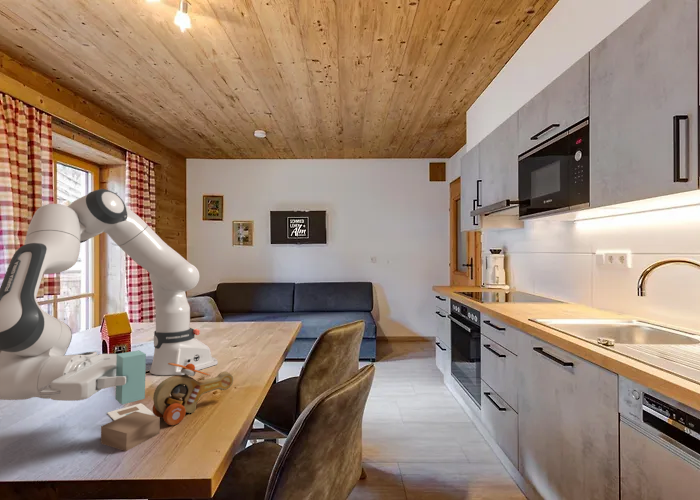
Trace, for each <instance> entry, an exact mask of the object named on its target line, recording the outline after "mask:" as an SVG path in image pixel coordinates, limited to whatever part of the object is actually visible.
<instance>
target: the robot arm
mask: <svg viewBox="0 0 700 500" xmlns="http://www.w3.org/2000/svg"><path fill="white" fill-rule="evenodd" d="M103 233H104V234H107V235H108V237H109V238H110V239H111V240H112V241H113V242H114V243H115V244H116V245H117V246H118V247H119V248H120V249H121V250H122V251H124V253H125V254H126V255H128V257H129V258H130V259H131V260H132V261H134V262H135V263H136V264H137V265H138V266H140V267H141V268H143V269H144V270H145V271H147V272H148V273H149V279H150V282H151V287H152V295H153V299H154V305H155V330H154V332H153V333H154V334H153V335H154V336H153V345H154V346H153V347H154V351H153V356H152V363H151V365H150V369H149V373H150V374H153V375H156V376H175V375H185V374H184V373H182V372H181V369H182V367H178V366H173V365H169V364H168V363H174V364H179V365H183V366H186V365H187V364H193V365H194V366H195V370H198V371H200V370H204V369H206V368H210V367H213V366H216V365H218V364H219V362H218V359H217V358H215V357H213V356H212V352H211V348H210V347H209V346H208V345H207V343H206V344H205V343H204V342H202V341H201V340H200V339H198V338H196V336H199V335H200V333H201V332H200V329H198V328H192V327H191V306H190V303H189V301H188V298H187V294H186V292H188V291H191V290H192V289H194V288H195V287H196V286H197V285H198V283H199V281H200V272H199V269H198V268H197V267H196V266H195V265H194V264H192V263H190V262H189V261H188V260H187V259H186V258H184V257H183V256H182V255H181V254H180V253H179V252H177V251H176V250H174V248H172V247H171V246H170V245H168V243H166V242H165V241H164V240H163V239H162V238H161V237H160V236H159V235H158V234H157V233H156V232H155V231H154V230H153V228H151V227H150V226H149V225H148V224H147V222H145V221H144V220H143V219H142V218H141V217H140V216H139V215H138V214H137V213H135V211H133V210H132V209H130V208H129V207H127V206H126V204H125V202H124V200H123V199H122V198H121V196H119V194H117V193H115V192H114V191H112V190H110V189H107V188H99V189H95V190H92V191H90V192H89V193H88V194H86V195H84V196H81V197H79V198H78V199H75V200H74V201H72V202H71V203H70V204H69V205H64V204H59V203H47V204H45V205H42V206H40V207H39V208H37V209H36V210H35V212H34V214H33V216H32V218H31V221H30V223H29V225H28V228H27V231H26V236H25V241H24V244H23V245H21V246H20V247H18V249H17V250H16V251H14V254H13V255H12V258H11V259H10V261H9V263H8V266H7V269H6V271H5V274H4V277H3V279H2V283H1V285H0V401H3V400H4V401H23V400H28V399H29V400H30V399H32V398H39V399H43V400H44V399H46V400H49V399H51V400H53V401H72V402H73V401H74V402H75V401H77V402H78V401H83V400H87V399H90V397H92V396H94V395H95V394H96V393H98V392H99V391H101V390H102V389H104V390H105V389H108V388H113V387H116V386H120V385H125V384H126V383H127V382H128V375H119V376H116V361H117V354H118V353H100V354H98V351H87V352H83V353H79V354H67V355H66V353H67V352H68V349H69V347H70V344H71V342H72V337H73V332H72V330H71V327H70V326H69V325H68V324H67V323H65V322H63V321H62V320H60V319H59V318H57V317H55V316H53V315H52V314H49V313H48V312H46V311H44V309H42V307H41V306H40V304H39V302H38V300H37V298H38V297H37V296H38V293H39V290H40V286H41V282H42V279H43V275H52V274H57V273H63V272H65V271H68V270H69V269H71V268H72V267H73V266H75V265H76V263H77V261H78V258H79V255H80V250H81V244H82V243H84V242H87V241H88V240H89V239H92V238H95V237H97V236H99V235H101V234H103Z"/></svg>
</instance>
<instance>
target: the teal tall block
mask: <svg viewBox="0 0 700 500" xmlns="http://www.w3.org/2000/svg"><path fill="white" fill-rule="evenodd" d="M116 354H117V361H116V376H119V375H128V382H127V383H126V384H125V385H120V386H115V401H117V402H118V403H119V404H120V405H122V406H124V405H125V404H126V405H127V404H131V403H134V402H137V401H141V400H145V398H146V365H147V364H146V363H147V362H146V360H147V353H145V352H143V351H141V350H134V351H128V352H120V353H116Z"/></svg>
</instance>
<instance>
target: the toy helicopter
mask: <svg viewBox="0 0 700 500" xmlns="http://www.w3.org/2000/svg"><path fill="white" fill-rule="evenodd" d="M168 364H169V365H173V366H178V367H182V369H181V372H182V373H184V375H171V376H170V377H167V378H165V379H163V380H162V381H161V382H160V383H159V384H158V385H157V386H156V387H155V390H154V392H153V405H152V408H151V409H152V410H151V411H152V412H153V413H154V415H156V417H160V418H162V419H163V421H164V422H165V424H167V425H168V426H176V425H179V424H180V423H181V422H182V421H183V420H184V418H185V417H186V414H187V413H188V414H190V413H191V414H193V413H195V411H196V409H197V403H198V401H199V400H200V398H201V396H202V395H204V394H206V393H210V392H213V391H216V390H221V391H227V390H228V389H229V388H231V386H232V384H233V383H234V376H233V374H231V373H230V372H228V371H221V372H220V373H218V374H217V376H214V377H211V378H206V379H201V380H196V379H195V378H194V377H195V374H196V373H198V374H201V375H205V376H211V374H210V373H207V372H203V371H200V370H195V366H194V365H193V364H187V365H186V366H183V365H179V364H174V363H168Z"/></svg>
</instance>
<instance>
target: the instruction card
mask: <svg viewBox="0 0 700 500" xmlns="http://www.w3.org/2000/svg"><path fill="white" fill-rule="evenodd" d="M135 411H136V412H140V413H144V414H148V415H152V416H156V415H154V413H153V410H151V409H149V408H148V407H147V406H146V405H144V404H143V403H141V402H140V403H137V404H133V405H130V406H126V407H122V408H119V409H118V408H117V409H116V410H115V409H114V410H112V411H109V412H106V414H107V415H108V416H109V417H110V418H111V419H112V421H114V420H117V419H119V418H121V417H124V416H126V415H128V414H131V413H133V412H135ZM156 417H157V416H156Z"/></svg>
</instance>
